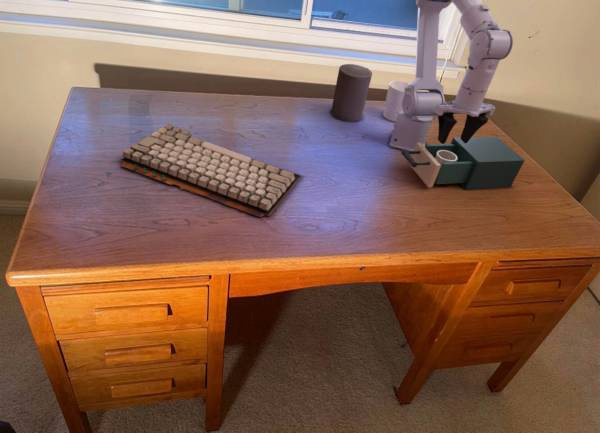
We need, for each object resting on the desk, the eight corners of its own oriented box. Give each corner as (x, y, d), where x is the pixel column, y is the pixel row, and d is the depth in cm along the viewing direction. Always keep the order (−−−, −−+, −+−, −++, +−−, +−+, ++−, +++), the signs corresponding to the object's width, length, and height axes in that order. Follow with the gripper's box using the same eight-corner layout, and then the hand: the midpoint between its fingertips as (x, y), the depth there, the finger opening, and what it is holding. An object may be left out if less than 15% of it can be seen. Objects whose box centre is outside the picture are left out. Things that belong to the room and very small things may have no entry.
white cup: (407, 115, 137) (417, 85, 131) (404, 125, 131) (413, 94, 125) (383, 108, 138) (391, 78, 132) (378, 118, 132) (387, 87, 126)
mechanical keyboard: (301, 176, 102) (302, 164, 100) (266, 222, 88) (268, 209, 86) (164, 131, 110) (163, 119, 108) (113, 166, 96) (110, 153, 94)
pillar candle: (324, 111, 131) (332, 62, 122) (344, 104, 137) (354, 57, 128) (348, 124, 126) (359, 74, 117) (368, 116, 132) (380, 68, 123)
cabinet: (465, 189, 107) (478, 162, 102) (442, 164, 116) (452, 137, 111) (510, 187, 111) (525, 160, 106) (484, 162, 120) (497, 136, 114)
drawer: (410, 188, 103) (418, 166, 99) (391, 164, 110) (398, 142, 106) (472, 185, 108) (481, 163, 104) (450, 162, 115) (459, 141, 111)
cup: (430, 173, 107) (436, 158, 104) (431, 163, 111) (436, 148, 108) (451, 178, 107) (458, 163, 104) (450, 168, 111) (457, 152, 108)
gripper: (455, 94, 90) (434, 150, 99) (512, 95, 94) (487, 149, 103) (438, 80, 95) (419, 135, 104) (493, 82, 99) (471, 134, 108)
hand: (452, 141), depth 104 cm, fingers open, 6 cm apart
